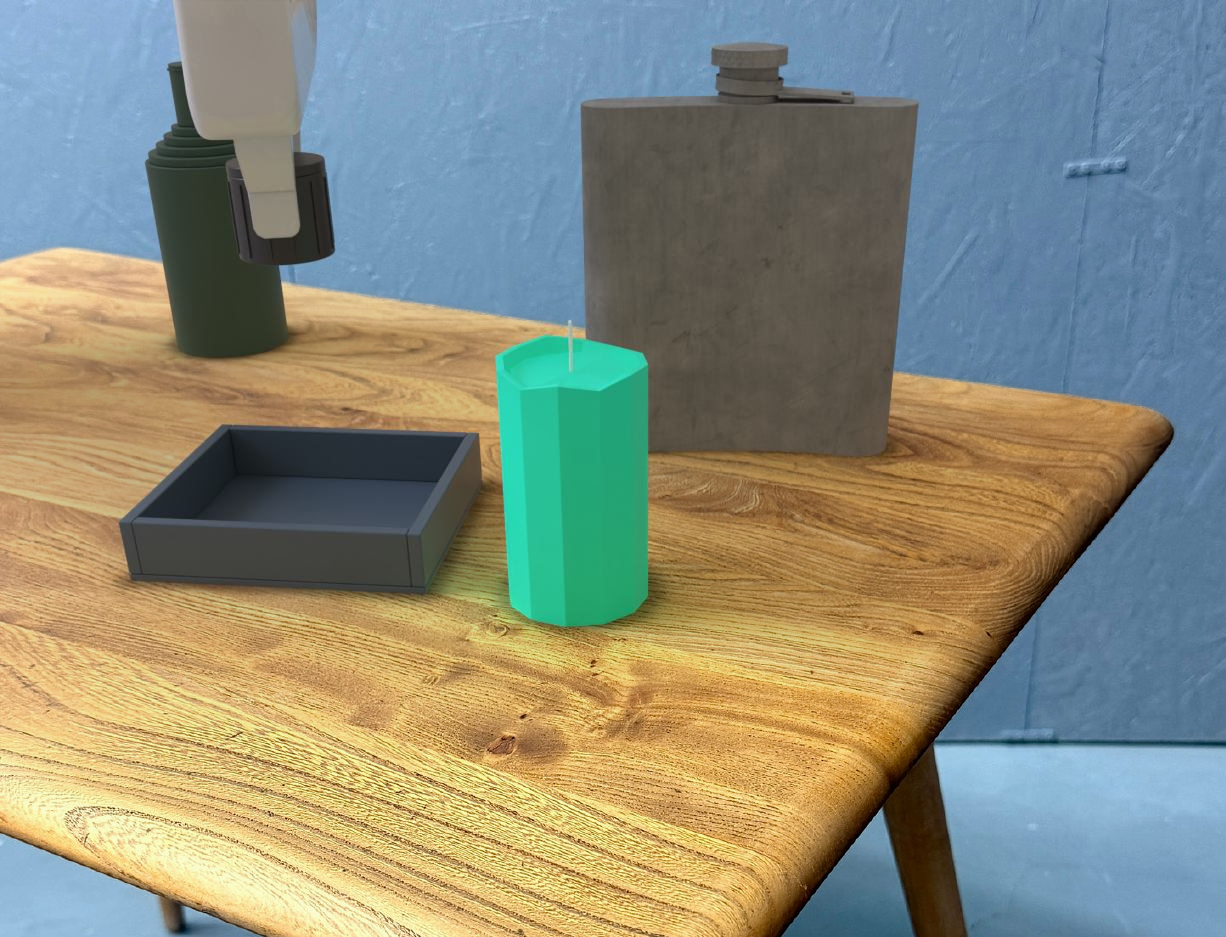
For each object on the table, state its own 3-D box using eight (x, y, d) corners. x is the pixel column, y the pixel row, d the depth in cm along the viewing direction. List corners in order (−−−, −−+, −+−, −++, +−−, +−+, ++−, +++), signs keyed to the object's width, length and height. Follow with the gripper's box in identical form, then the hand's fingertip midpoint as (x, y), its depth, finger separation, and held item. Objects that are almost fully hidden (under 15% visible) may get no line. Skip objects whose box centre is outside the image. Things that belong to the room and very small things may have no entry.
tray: (131, 586, 57) (117, 521, 56) (231, 480, 67) (221, 423, 66) (426, 600, 56) (420, 534, 54) (483, 490, 66) (479, 432, 64)
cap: (335, 240, 57) (325, 149, 55) (334, 262, 54) (323, 166, 52) (243, 245, 57) (229, 154, 55) (236, 268, 53) (221, 171, 51)
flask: (160, 360, 85) (106, 70, 76) (203, 328, 91) (158, 56, 83) (267, 363, 84) (224, 70, 76) (303, 330, 90) (268, 56, 82)
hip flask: (585, 458, 69) (576, 49, 60) (591, 430, 73) (583, 40, 63) (889, 461, 68) (929, 46, 59) (880, 433, 72) (916, 38, 62)
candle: (489, 580, 57) (471, 309, 51) (617, 556, 59) (613, 292, 53) (534, 644, 52) (519, 353, 47) (671, 615, 54) (674, 332, 48)
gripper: (307, -181, 39) (359, 278, 46) (322, -158, 57) (358, 171, 64) (89, -178, 38) (174, 290, 45) (172, -156, 56) (225, 178, 63)
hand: (282, 220), depth 55 cm, fingers closed on cap, 4 cm apart
